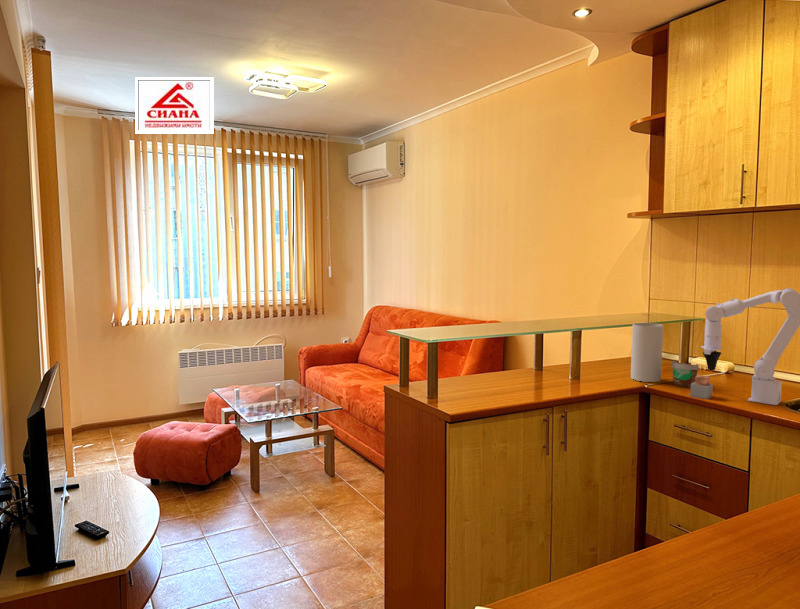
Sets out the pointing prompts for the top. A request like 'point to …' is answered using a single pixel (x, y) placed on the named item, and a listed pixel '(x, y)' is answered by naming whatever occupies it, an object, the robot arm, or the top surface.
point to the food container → (684, 374)
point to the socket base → (701, 391)
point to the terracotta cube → (702, 380)
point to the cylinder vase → (646, 352)
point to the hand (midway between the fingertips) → (711, 369)
